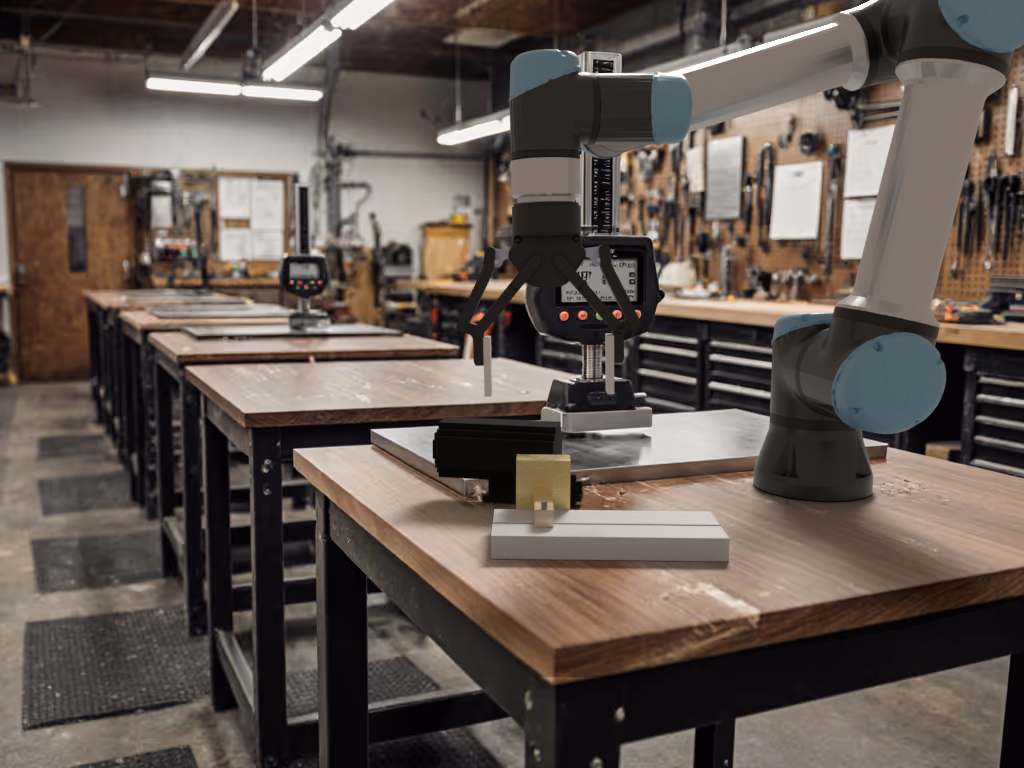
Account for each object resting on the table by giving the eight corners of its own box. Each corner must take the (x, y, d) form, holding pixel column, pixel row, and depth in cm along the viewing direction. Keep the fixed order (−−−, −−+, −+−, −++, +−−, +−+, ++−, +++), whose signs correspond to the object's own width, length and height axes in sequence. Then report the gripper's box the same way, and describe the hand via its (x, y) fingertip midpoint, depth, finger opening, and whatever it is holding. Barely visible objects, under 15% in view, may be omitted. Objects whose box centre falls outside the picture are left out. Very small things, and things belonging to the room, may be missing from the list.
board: (709, 532, 105) (710, 510, 105) (728, 561, 96) (729, 537, 95) (494, 530, 106) (494, 508, 106) (490, 558, 96) (490, 535, 96)
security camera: (578, 513, 113) (579, 430, 112) (429, 503, 117) (428, 424, 115) (585, 498, 120) (586, 420, 118) (444, 490, 123) (444, 414, 122)
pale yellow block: (568, 523, 109) (569, 454, 108) (572, 550, 99) (573, 475, 98) (516, 522, 109) (516, 454, 108) (514, 549, 99) (515, 475, 98)
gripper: (656, 200, 107) (656, 386, 110) (435, 205, 107) (441, 390, 110) (665, 196, 99) (665, 396, 102) (428, 201, 100) (434, 400, 103)
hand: (549, 394), depth 106 cm, fingers open, 13 cm apart
